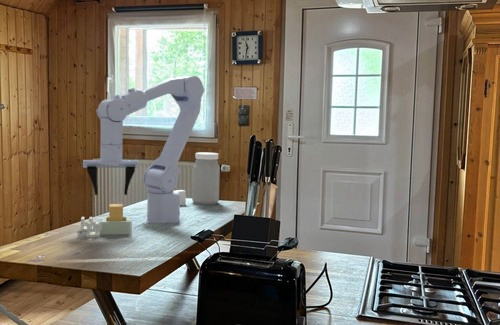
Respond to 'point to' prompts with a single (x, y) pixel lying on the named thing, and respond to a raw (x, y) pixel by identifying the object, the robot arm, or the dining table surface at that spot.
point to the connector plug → (116, 212)
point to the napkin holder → (182, 196)
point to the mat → (83, 234)
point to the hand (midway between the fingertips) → (111, 194)
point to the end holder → (115, 226)
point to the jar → (206, 179)
